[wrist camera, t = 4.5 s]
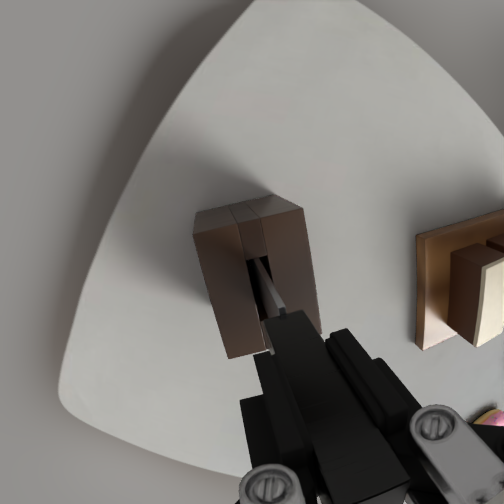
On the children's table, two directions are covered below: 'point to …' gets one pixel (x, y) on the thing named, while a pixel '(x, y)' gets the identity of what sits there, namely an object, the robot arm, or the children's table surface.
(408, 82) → the children's table surface
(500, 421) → the doughnut
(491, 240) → the cake
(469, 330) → the cake slice
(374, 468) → the knife
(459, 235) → the cutting board
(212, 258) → the knife block
